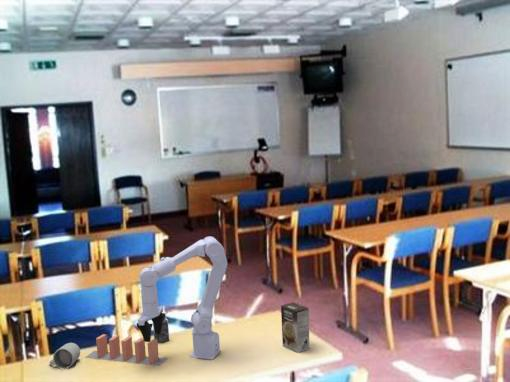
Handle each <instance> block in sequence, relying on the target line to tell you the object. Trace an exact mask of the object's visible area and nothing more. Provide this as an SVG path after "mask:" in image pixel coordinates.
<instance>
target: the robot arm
mask: <svg viewBox="0 0 510 382" xmlns="http://www.w3.org/2000/svg"><path fill="white" fill-rule="evenodd" d="M205 254H206V256H207V257H208V258H209V259H210V261H211V263H212V266H211V269H210V270H211V271H210V273H209V276H208V279H207V282H206V284H205V288H204V291H203V293H202V294H203V295H202V296H201V300H200V303H199V304H198V305H197V307H196V310H195V311H194V312H193V313H192V314H191V317H190V322H191V323H192V325H193V328H192V330H191V334H192V346H193V352H192V353H190V355H189V358H195V359H204V360H214V359H215V358H216V357H217V356H218V355H219V353H221V352H222V350H221V349H220V348H221V347H220V346H221V345H220V336H219V333H218V332H216V331H214V330H213V329H212V326H213V323H212V319H213V315H214V314H213V313H214V311H213V309H214V308H215V307H214V306H215V303H216V300H217V297H218V295H219V291H220V288H221V286H222V283H223V280H224V277H225V273H226V271H227V268H228V267H227V266H228V259H227V256H226V250H225V248H224V246H223V244H221V243H220V242H219V241H218V240H217V239H216V238H215V237H214V236H210V235H209V236H206V237H204V238H203V239H199V240H198V241H196V242H195V243H193V244H192V245H190V246H188V247H187V248H185V249H184V250H182V251H180V252H179V253H177V254H176V255H174V256H172V257H170V256H166V257H164V256H163V257H161V258H160V260H159V261H158V262H156V263H153V264H149V265H148V267H145V268H143V269H142V270H140V272H139V275H138V278H139V280H140V288H141V289H140V293H141V294H140V295H141V305H142V306H141V307H142V311H141V312H140V314H139V315H140V317H139V318H138V320H137V323H136V327H137V328H138V330H139V331H140V333H141V335H142V338H143V339H144V341H145V343H149V342H150V341H152V340H151V339H152V329H153V326H154V330H153V332H154V331H155V334H161V330H162V324H163V321H164V318H166V313H164V306H159V298H158V297H159V296H158V288H157V282H158V280H161V279H163V278H165V277H166V276H169V274H172V273H173V272H174V271H176V267H177V266H179V265H180V264H182V263H184V262H187V261H188V260H190V259H192V258H195V257H196V256H197V257H204V258H205V257H206V256H205ZM150 320H151V321H152V323H149V321H150Z"/></svg>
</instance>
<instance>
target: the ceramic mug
mask: <svg viewBox="0 0 510 382" xmlns="http://www.w3.org/2000/svg"><path fill="white" fill-rule="evenodd" d="M80 356H81V348H80V346H79V345H77V344H76V343H74V342H68V343H65V344H64V345H62V346H61V347H60V348H58V349H57V350H56V351H55V352H54V353H53V358H52V359H51V360H50V361H49V362H48V363H49V365H50V366H51V367H52V366H56V367H57V368H59V369H69V368H71V367H72V365H73V364H75V362H77V360H78V359H79V357H80ZM66 365H67V366H66ZM65 366H66V367H65Z"/></svg>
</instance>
